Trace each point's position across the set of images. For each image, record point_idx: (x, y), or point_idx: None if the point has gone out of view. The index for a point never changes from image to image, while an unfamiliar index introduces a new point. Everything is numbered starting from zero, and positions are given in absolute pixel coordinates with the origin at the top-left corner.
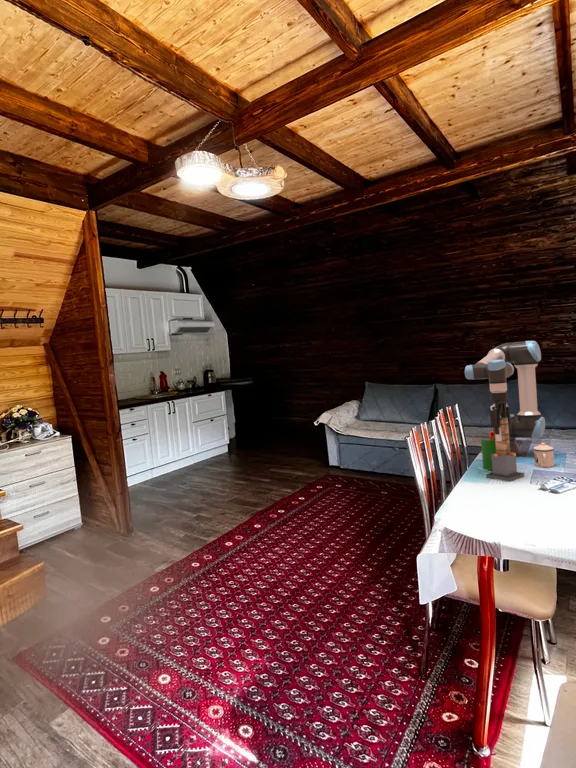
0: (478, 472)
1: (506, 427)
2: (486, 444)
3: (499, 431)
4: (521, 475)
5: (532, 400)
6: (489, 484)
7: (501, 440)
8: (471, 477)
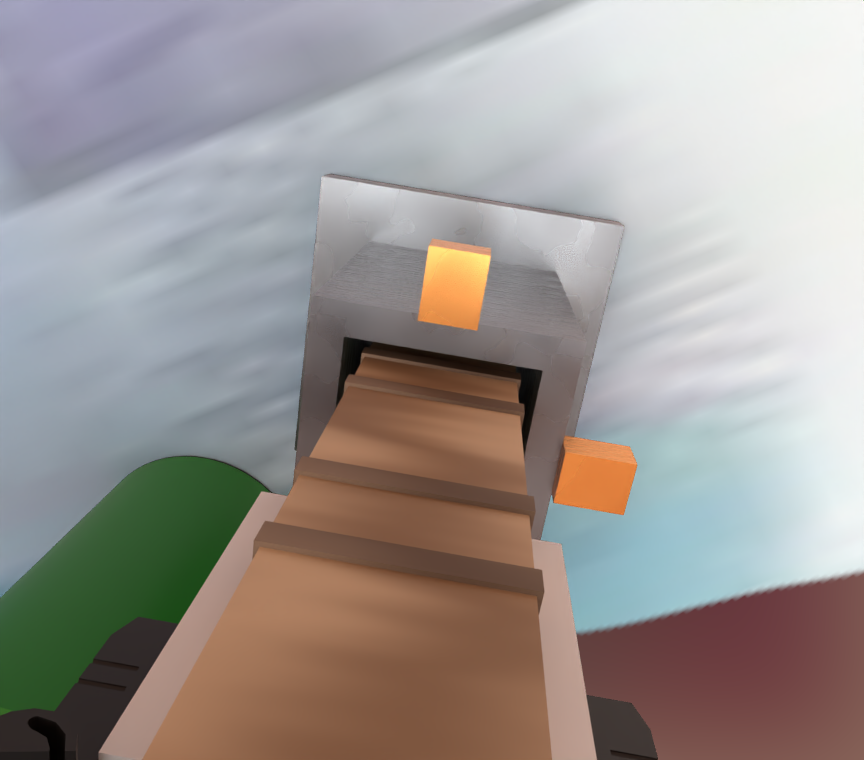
0: None
1: (309, 705)
2: None
3: (581, 747)
4: (379, 184)
5: None
6: (811, 349)
7: (541, 549)
8: (623, 587)
